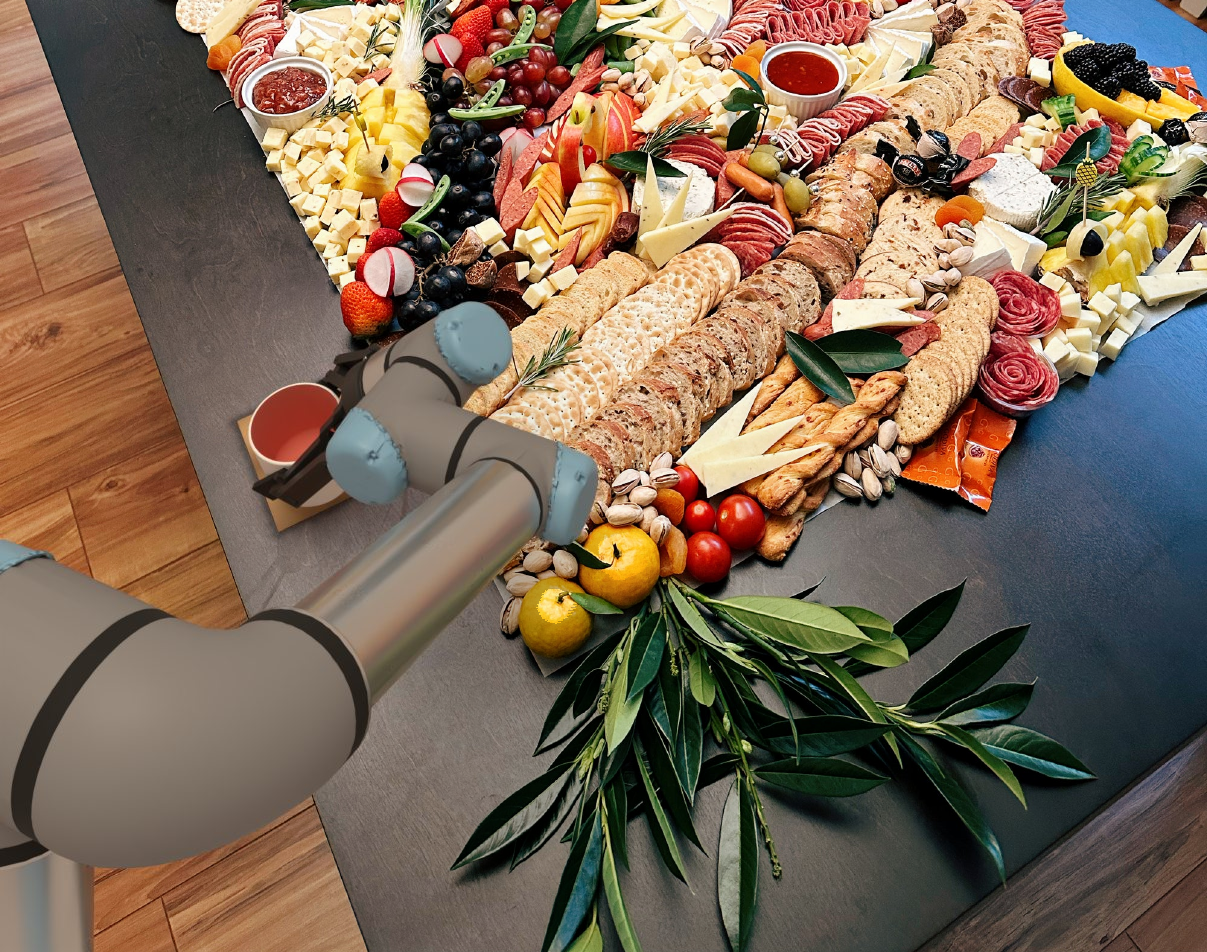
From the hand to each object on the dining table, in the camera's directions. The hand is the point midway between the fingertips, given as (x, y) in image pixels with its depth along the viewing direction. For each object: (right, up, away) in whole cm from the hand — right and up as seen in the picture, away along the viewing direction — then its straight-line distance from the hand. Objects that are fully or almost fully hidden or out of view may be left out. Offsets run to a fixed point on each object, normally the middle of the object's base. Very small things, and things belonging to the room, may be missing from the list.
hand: (283, 447), depth 126 cm
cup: (+3, -3, +2) cm, 5 cm away
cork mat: (+1, -2, +6) cm, 6 cm away
